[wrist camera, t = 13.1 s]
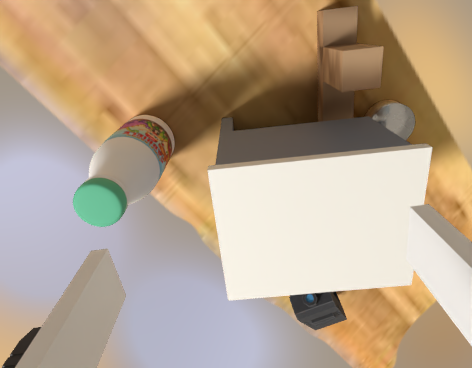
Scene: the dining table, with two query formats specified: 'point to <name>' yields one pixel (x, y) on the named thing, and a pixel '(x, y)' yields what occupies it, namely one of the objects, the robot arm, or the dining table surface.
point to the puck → (393, 117)
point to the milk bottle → (124, 170)
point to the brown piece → (343, 63)
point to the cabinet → (315, 206)
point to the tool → (318, 309)
